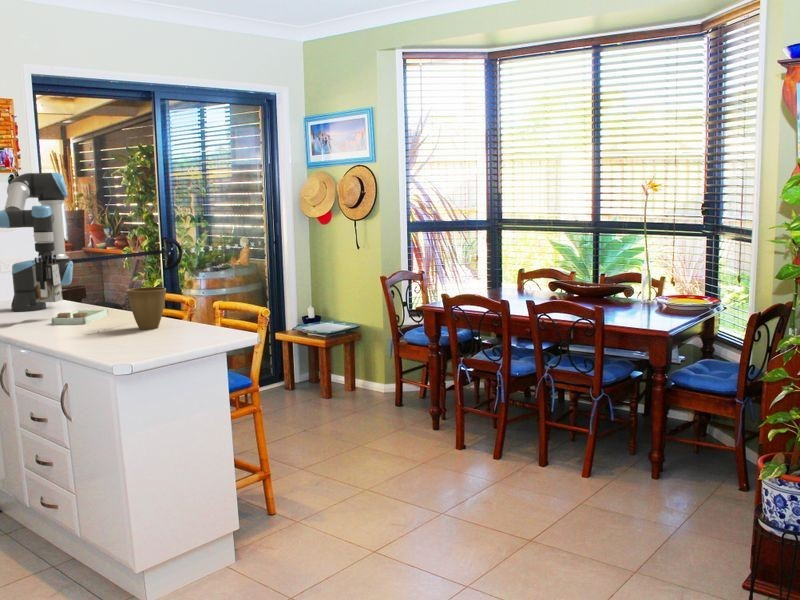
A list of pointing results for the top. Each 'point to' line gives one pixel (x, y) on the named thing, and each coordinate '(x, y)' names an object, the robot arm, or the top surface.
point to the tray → (91, 317)
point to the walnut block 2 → (80, 315)
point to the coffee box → (49, 284)
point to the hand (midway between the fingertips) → (48, 295)
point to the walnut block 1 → (63, 315)
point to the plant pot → (147, 305)
